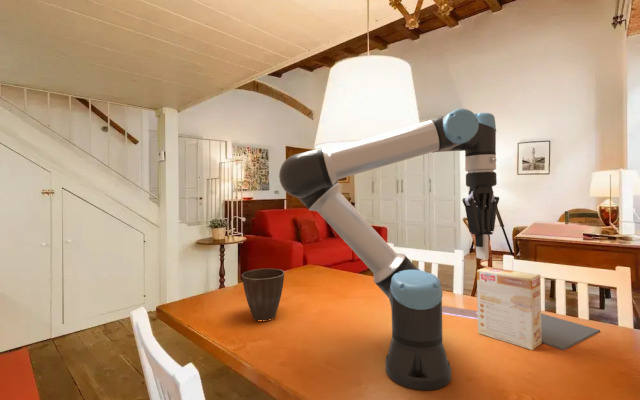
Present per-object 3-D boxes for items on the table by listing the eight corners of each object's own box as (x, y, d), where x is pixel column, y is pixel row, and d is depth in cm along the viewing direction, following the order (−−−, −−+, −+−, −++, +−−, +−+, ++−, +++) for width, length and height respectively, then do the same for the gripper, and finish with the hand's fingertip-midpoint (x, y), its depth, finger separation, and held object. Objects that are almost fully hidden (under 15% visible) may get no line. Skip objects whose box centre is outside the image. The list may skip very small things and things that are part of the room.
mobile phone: (442, 304, 123) (486, 311, 116) (442, 307, 123) (486, 314, 116) (438, 311, 117) (484, 318, 109) (438, 314, 117) (484, 321, 109)
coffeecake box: (542, 343, 92) (541, 274, 92) (532, 351, 88) (531, 278, 88) (487, 327, 104) (486, 265, 104) (477, 333, 100) (476, 269, 99)
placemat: (563, 350, 88) (563, 348, 88) (486, 323, 107) (486, 321, 107) (599, 331, 99) (599, 329, 99) (524, 310, 118) (524, 308, 118)
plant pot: (294, 315, 119) (292, 271, 118) (265, 329, 106) (263, 280, 106) (264, 308, 127) (262, 266, 127) (234, 320, 115) (232, 275, 114)
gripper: (478, 170, 83) (480, 263, 83) (508, 171, 89) (510, 257, 90) (453, 172, 89) (454, 259, 90) (482, 173, 96) (484, 253, 96)
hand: (482, 258), depth 90 cm, fingers closed
